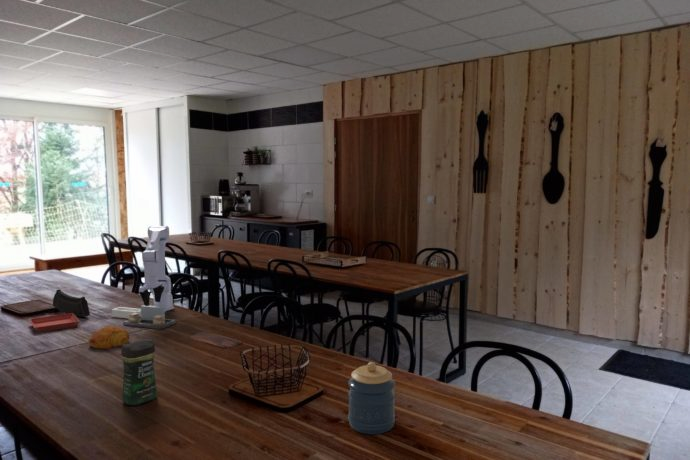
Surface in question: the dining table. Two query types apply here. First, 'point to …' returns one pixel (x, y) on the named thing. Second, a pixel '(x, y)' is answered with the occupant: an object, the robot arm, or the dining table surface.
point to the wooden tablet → (216, 340)
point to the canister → (371, 399)
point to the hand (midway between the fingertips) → (152, 303)
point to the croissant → (109, 337)
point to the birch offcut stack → (134, 317)
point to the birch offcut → (158, 319)
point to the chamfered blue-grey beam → (151, 312)
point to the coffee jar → (138, 372)
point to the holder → (124, 312)
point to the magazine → (70, 304)
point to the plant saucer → (54, 322)
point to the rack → (149, 323)
